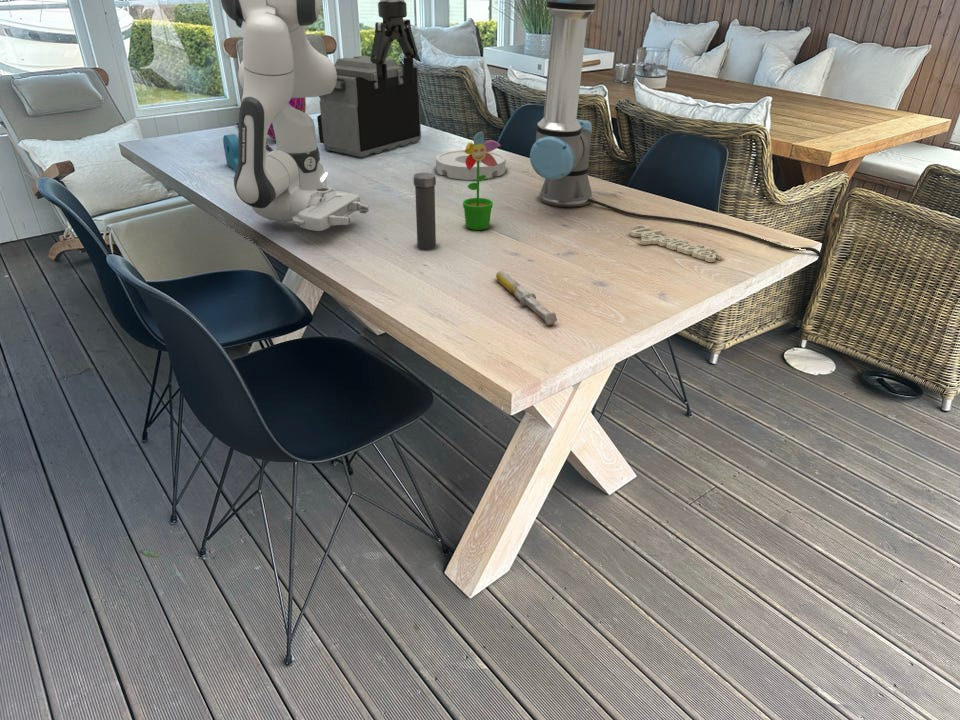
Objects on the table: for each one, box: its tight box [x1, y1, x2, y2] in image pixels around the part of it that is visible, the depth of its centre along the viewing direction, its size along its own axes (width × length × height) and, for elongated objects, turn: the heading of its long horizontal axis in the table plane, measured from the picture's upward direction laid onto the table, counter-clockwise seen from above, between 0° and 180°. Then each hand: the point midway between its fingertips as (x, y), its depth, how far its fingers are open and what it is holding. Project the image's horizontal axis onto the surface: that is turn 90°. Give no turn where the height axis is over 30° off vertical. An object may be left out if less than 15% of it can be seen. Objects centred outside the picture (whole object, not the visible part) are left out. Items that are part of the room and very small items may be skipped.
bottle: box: [414, 185, 437, 251], centre depth 165 cm, size 5×5×17 cm
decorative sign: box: [630, 224, 722, 263], centre depth 172 cm, size 26×1×10 cm
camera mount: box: [222, 133, 238, 172], centre depth 226 cm, size 18×10×10 cm, turn 35°
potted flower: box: [462, 131, 501, 231], centre depth 176 cm, size 9×8×25 cm
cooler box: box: [316, 55, 422, 159], centre depth 250 cm, size 37×22×30 cm, turn 144°
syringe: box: [495, 269, 558, 326], centre depth 143 cm, size 25×4×3 cm, turn 21°
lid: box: [412, 172, 437, 188], centre depth 161 cm, size 5×5×2 cm
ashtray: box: [435, 149, 507, 181], centre depth 229 cm, size 23×23×4 cm
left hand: (358, 215), depth 172 cm, fingers open, 8 cm apart
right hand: (396, 86), depth 192 cm, fingers open, 13 cm apart
